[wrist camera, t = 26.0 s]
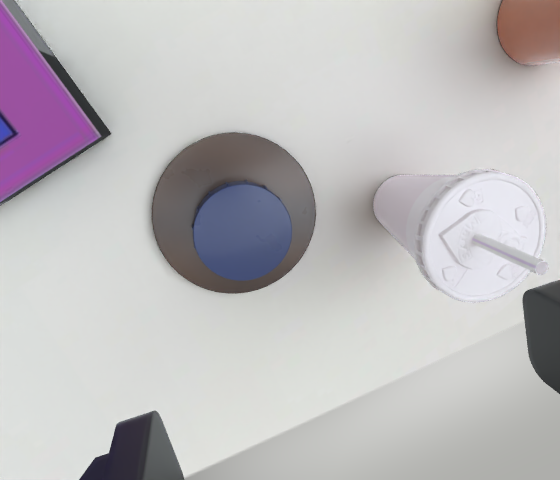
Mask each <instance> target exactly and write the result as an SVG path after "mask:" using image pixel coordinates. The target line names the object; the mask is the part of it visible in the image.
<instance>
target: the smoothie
mask: <svg viewBox="0 0 560 480" xmlns="http://www.w3.org/2000/svg"><path fill="white" fill-rule="evenodd" d="M373 208H374V213H375V216H376V218H377V219H378V221H379V222H380V223H381V224H382V225H383V226H384V227H385V228H386V229H387V230H388V232H389V233H390V234H391V235H392V236H393V237H394V238H395V239H396V240H397V241H398V242H399V243H400V244H401V245H402V246H403V247H404V248H405V249H406V250H407V251H408V253H409V254H410V255H411V256H412V257H413V258H414V259H415V260H416V263H417V265H418V267H419V269H420V271H421V273H422V275H423V276H424V278H425V279H426V280H427V281H428V282H429V283H430V284H431V285H432V286H433V287H434V288H436V289H438V290H439V291H441V292H443V293H445V294H446V295H448V296H450V297H452V298H454V299H457V300H460V301H464V302H484V301H489V300H492V299H495V298H498V297H500V296H502V295H504V294H506V293H508V292H509V291H511V290H512V289H514V288H515V287H516V286H518V285H519V284H520V283H521V282H522V281H523V280H524V279H525V278H526V277H527V276H528V274H529V273H530V272H531V271H532V272H534V273H536V274H538V275H543V274H545V273H546V272H547V271H548V268H549V265H548V263H547V262H546V261H543V260H541V259H539V256H540V254H541V251H542V249H543V245H544V241H545V235H546V218H545V212H544V208H543V205H542V203H541V201H540V199H539V197H538V195H537V194H536V192H535V191H534V190H533V189H532V188H531V187H530V186H529V185H528V184H527V183H526V182H525V181H523V180H521V179H520V178H518V177H516V176H513V175H510V174H506V173H503V172H500V171H497V170H494V169H475V170H471V171H468V172H464V173H461V174H458V175H396V176H393V177H390V178H389V179H387V180H386V181H384V182H383V183H382V184H381V185H380V187H379V188H378V190H377V192H376V194H375V197H374V202H373Z"/></svg>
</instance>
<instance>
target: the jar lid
mask: <svg viewBox="0 0 560 480" xmlns="http://www.w3.org/2000/svg"><path fill="white" fill-rule="evenodd" d="M225 183H226V184H223V185H221V186H219V187H217V188H216V189H214V190H212V191H211V192H210V191H209V192H208V193H209V194H208V195H207V196H206V197H205V198H204V199H203V200H202V202H201V203H200V205H199V207H198V206H197V207H196V209H197V211H196V214H195V217H194V222H193V224H192V230H193V241H194V248H195V249H196V251H197V253H198V255H199V257H200V259H201V260H202V262H203V263H204V264H205V265H206V266H207V267H208V268H209V269H210V270H211V271H213V272H214V273H216V274H217V275H219V276H222V277H224V278H227V279H231V280H239V281H244V280H252V279H256V278H259V277H262V276H264V275H266V274H267V273H269V272H271V271H272V270H273V269H274V268H276V267H277V266H278V265H279V264H280V263H281V261H282V260H283V259H284V257H285V255H286V254H287V252H288V249H289V247H290V243H291V239H292V224H291V219H290V215H289V213H288V211H287V209H286V207H285V206H284V204H283V203H282V202H281V201H282V200H281V199H280V198H279V197H277V196H276V195H275V194H273V193H272V192H271V191H270V190H268V189H267V187H266V186H265V185H263V186H262V185H259V184H256V183H253V182H248V181H247V180H245V181H235V182H229V183H227V182H225Z"/></svg>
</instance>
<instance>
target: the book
mask: <svg viewBox="0 0 560 480" xmlns="http://www.w3.org/2000/svg"><path fill="white" fill-rule="evenodd" d="M110 134H111V133H110V131H109V130H108V129H107V127H106V126H105V124H104V123H103V122H102V120H101V119H100V118H99V116H98V115H97V113H96V112H95V111H94V109H93V108H92V106H91V105H90V104H89V102H88V101H87V100H86V98H85V97H84V95H83V94H82V93H81V91H80V90H79V89H78V87H77V86H76V84H75V83H74V82H73V80H72V79H71V78H70V76H69V75H68V73H67V72H66V71H65V69H64V68H63V66H62V65H61V64H60V62H59V61H58V60H57V58H56V57H55V55H54V54H53V53H52V51H51V50H50V49H49V47H48V46H47V44H46V43H45V42H44V40H43V39H42V38H41V36H40V35H39V33H38V32H37V31H36V29H35V28H34V26H33V25H32V24H31V22H30V21H29V20H28V18H27V17H26V15H25V14H24V13H23V11H22V10H21V9H20V7H19V6H18V4H17V3H16V2H15V0H0V206H1V205H2V204H4V203H5V202H7V201H9V200H10V199H12V198H13V197H15V196H16V195H18V194H19V193H21V192H22V191H24V190H26V189H27V188H29V187H30V186H32V185H33V184H35V183H36V182H38V181H39V180H41V179H42V178H44V177H46V176H47V175H49V174H50V173H52V172H53V171H55V170H56V169H58V168H59V167H61V166H62V165H64V164H66V163H67V162H69V161H70V160H72V159H73V158H75V157H76V156H78V155H79V154H81V153H83V152H84V151H86V150H87V149H89V148H90V147H92V146H93V145H95V144H96V143H98V142H99V141H101V140H103V139H104V138H106V137H107V136H109V135H110Z"/></svg>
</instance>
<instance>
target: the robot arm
mask: <svg viewBox="0 0 560 480" xmlns="http://www.w3.org/2000/svg"><path fill="white" fill-rule="evenodd" d="M523 310H524V319H525V327H526V336H527V345H528V353H529V358H530V361H531V364H532V365H533V368H534V369H535V371H536V373H537V374H538V375H539V377H540V378H541V379H542V380H543V381H544V382H545V383H546V384H547V385H549V386H550V387H551V388H553V389H554V390H555V391H557V392H558V393H559V394H560V280H558V281H554V282H551V283H548V284H545V285H542V286H539V287H536V288H533V289H530V290H527V291H526V292H525V293H524V295H523ZM79 480H184V477H183V473H182V470H181V468H180V465H179V463H178V460H177V458H176V455H175V452H174V450H173V447H172V445H171V442H170V440H169V437H168V434H167V432H166V429H165V427H164V424H163V422H162V419H161V417H160V415H159V414H158V412H157V411H152V412H149V413H146V414H143V415H140V416H137V417H134V418H131V419H128V420H125V421H122V422H119V423H118V424H117V425H116V428H115V432H114V436H113V440H112V444H111V447H110V451H109V453H108V454H105V455H102V456H99V457H96V458H95V459H94V460H93V462H92V463H91V464H90V466H89V467H88V468H87V470H86V471H85V473H84V474H83V475H82V477H81V478H80V479H79Z"/></svg>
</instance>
